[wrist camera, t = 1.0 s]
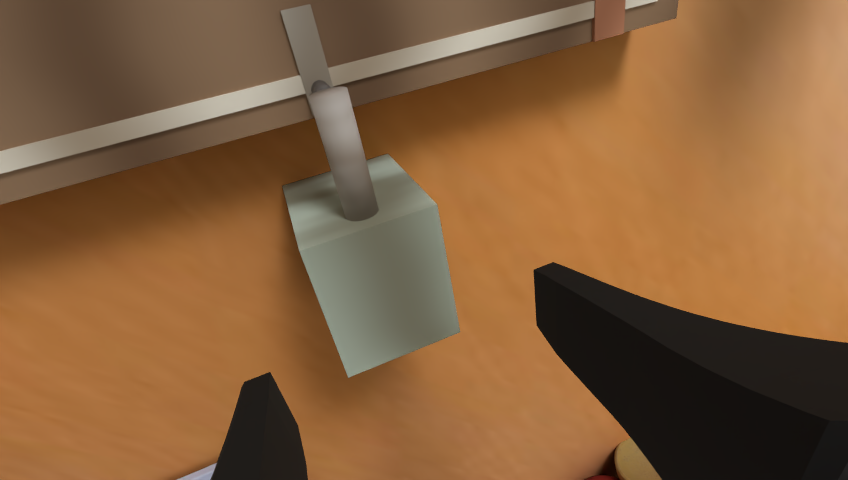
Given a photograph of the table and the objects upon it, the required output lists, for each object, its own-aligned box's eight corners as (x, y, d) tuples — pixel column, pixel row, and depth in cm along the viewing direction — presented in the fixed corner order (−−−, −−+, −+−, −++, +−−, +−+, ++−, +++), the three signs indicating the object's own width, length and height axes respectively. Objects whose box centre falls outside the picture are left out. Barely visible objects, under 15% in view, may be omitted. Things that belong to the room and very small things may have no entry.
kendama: (722, 347, 36) (548, 493, 31) (811, 409, 31) (623, 589, 27) (701, 393, 41) (550, 523, 36) (774, 451, 37) (613, 607, 32)
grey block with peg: (322, 293, 19) (348, 377, 15) (243, 84, 14) (249, 121, 10) (412, 261, 20) (460, 331, 16) (364, 53, 15) (414, 76, 11)
